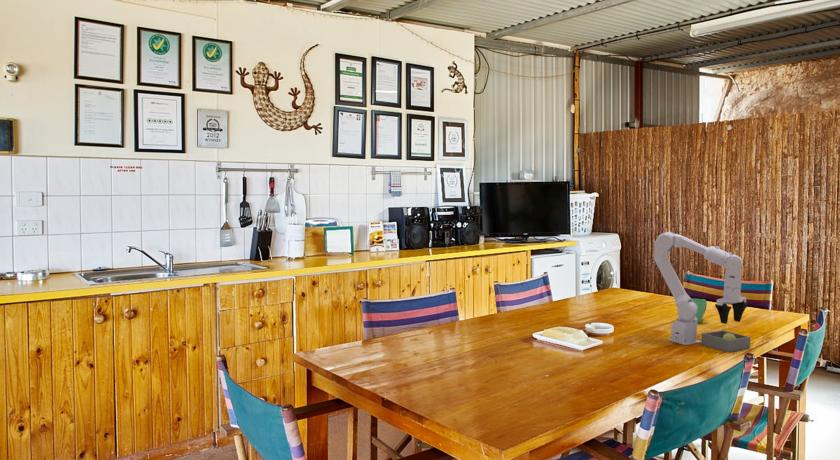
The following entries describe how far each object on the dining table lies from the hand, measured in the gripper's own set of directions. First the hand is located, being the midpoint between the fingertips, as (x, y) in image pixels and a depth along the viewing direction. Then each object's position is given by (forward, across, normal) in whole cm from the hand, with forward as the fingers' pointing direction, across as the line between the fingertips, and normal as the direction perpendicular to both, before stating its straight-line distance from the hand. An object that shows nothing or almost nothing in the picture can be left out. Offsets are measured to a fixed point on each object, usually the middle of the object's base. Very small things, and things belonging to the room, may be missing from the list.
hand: (730, 322), depth 240 cm
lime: (+9, 0, 0) cm, 9 cm away
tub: (+10, -1, +1) cm, 10 cm away
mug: (+10, +25, +35) cm, 44 cm away
